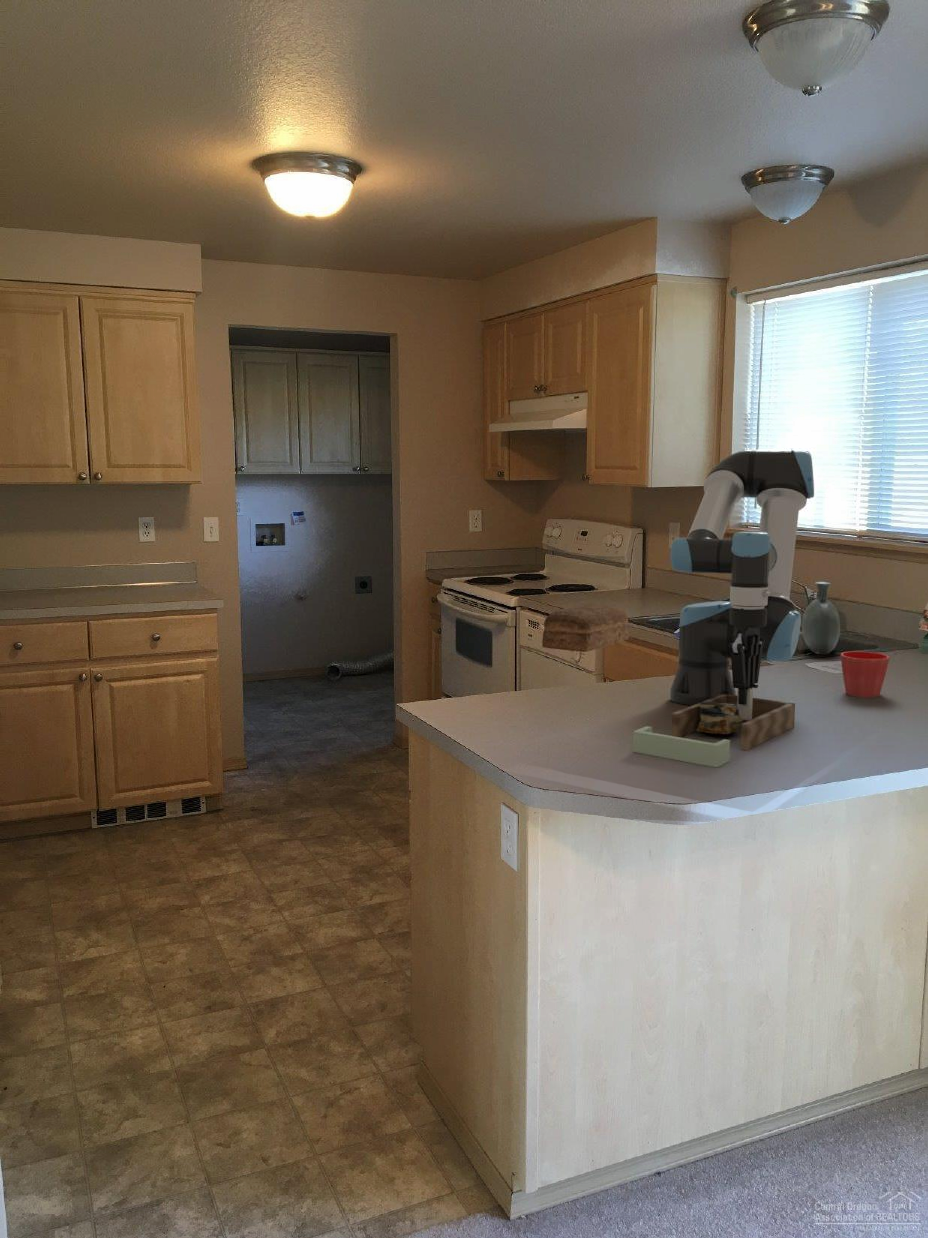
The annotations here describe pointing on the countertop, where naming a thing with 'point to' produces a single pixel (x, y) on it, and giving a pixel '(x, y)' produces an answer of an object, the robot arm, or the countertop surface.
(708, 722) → the rock
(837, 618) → the flask
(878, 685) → the flower pot
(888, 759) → the countertop surface
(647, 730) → the bracket
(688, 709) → the cubby
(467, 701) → the countertop surface
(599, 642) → the bread
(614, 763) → the countertop surface
